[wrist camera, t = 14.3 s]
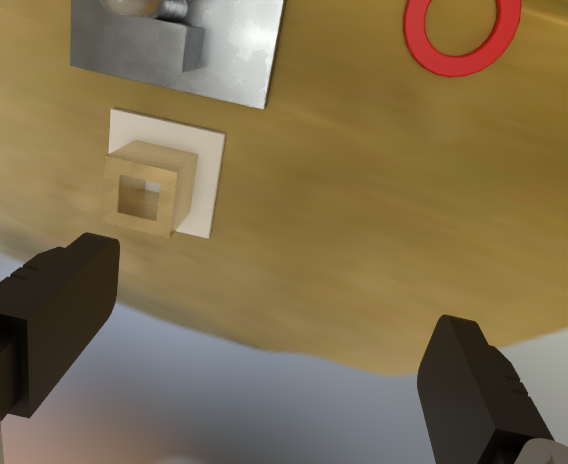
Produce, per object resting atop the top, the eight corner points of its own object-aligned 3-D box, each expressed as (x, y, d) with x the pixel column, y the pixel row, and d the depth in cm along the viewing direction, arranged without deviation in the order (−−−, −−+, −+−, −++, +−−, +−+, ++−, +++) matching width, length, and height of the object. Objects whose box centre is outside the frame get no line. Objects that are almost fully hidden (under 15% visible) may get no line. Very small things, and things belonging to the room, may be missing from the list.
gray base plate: (296, -56, 34) (280, -104, 23) (266, 106, 39) (240, 134, 27) (87, -104, 34) (-36, -175, 23) (82, 64, 39) (-21, 75, 28)
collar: (198, 154, 40) (177, 172, 35) (190, 212, 43) (169, 238, 37) (135, 139, 40) (105, 155, 35) (131, 198, 43) (101, 222, 37)
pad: (226, 133, 40) (224, 134, 39) (210, 235, 44) (208, 238, 43) (115, 107, 40) (110, 108, 39) (109, 212, 44) (105, 215, 43)
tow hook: (520, 57, 36) (508, -77, 33) (612, 78, 25) (609, -125, 21) (412, 88, 38) (390, -36, 34) (451, 122, 26) (422, -60, 23)
